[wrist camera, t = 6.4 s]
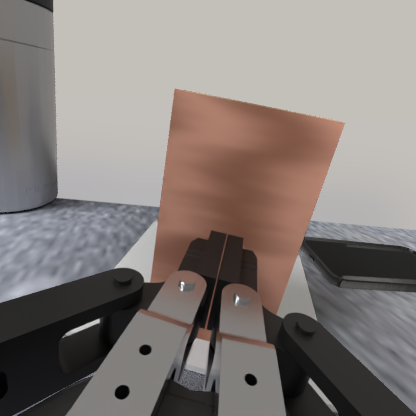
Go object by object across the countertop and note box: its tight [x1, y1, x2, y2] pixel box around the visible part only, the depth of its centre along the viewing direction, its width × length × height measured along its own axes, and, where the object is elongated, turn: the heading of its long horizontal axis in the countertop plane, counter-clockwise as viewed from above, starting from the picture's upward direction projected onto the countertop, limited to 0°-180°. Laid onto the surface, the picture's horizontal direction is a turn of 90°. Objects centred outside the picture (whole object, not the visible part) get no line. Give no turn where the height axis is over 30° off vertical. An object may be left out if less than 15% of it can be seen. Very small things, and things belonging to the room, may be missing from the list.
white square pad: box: [65, 220, 338, 413], centre depth 22 cm, size 15×15×1 cm
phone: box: [300, 237, 416, 292], centre depth 30 cm, size 8×1×15 cm
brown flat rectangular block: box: [150, 89, 345, 341], centre depth 15 cm, size 7×2×13 cm, turn 81°
